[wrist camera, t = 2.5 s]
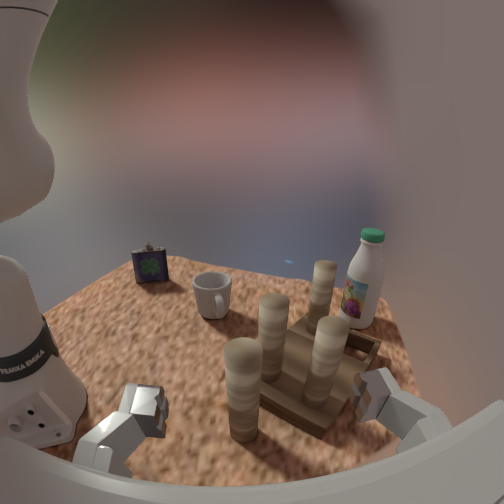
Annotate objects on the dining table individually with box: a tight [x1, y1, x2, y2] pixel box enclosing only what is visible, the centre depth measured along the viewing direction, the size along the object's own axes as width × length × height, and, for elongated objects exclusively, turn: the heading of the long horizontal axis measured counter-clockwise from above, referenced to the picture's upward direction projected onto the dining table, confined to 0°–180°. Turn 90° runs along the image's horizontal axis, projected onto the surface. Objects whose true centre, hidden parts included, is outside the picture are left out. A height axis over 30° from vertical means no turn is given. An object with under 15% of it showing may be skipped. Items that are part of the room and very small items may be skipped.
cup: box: [192, 272, 232, 319], centre depth 55 cm, size 11×8×8 cm
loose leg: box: [224, 337, 263, 443], centre depth 27 cm, size 4×4×16 cm
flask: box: [131, 242, 169, 284], centre depth 68 cm, size 9×3×11 cm, turn 106°
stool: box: [258, 260, 381, 439], centre depth 38 cm, size 22×16×16 cm
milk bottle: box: [339, 228, 385, 329], centre depth 51 cm, size 8×8×20 cm
